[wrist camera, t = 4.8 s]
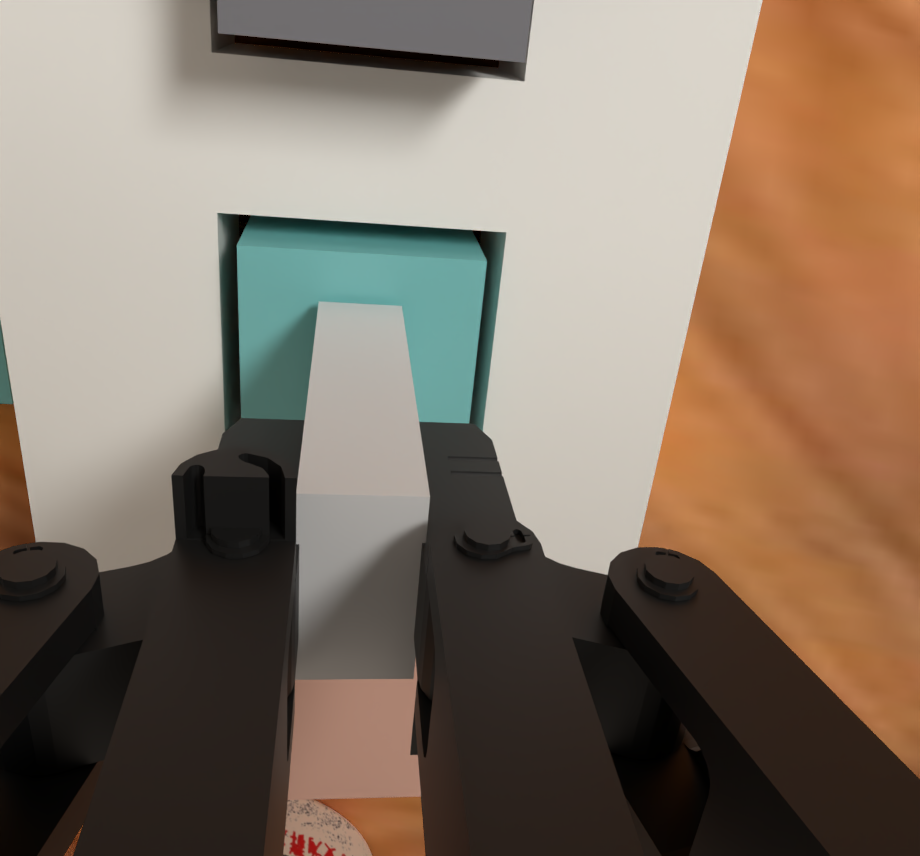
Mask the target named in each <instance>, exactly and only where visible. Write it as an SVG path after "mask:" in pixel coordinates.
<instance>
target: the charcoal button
mask: <svg viewBox="0 0 920 856" xmlns="http://www.w3.org/2000/svg"><path fill="white" fill-rule="evenodd" d="M532 1H533V0H217V15H218V33H221V34H232V35H242V36H252V37H263V38H273V39H283V40H294V41H304V42H315V43H325V44H335V45H346V46H356V47H366V48H377V49H387V50H398V51H408V52H418V53H429V54H439V55H449V56H460V57H470V58H480V59H491V60H501V61H512V62H522V63H525V60H526V52H527V44H528V35H529V27H530V18H531V10H532Z"/></svg>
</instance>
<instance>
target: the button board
mask: <svg viewBox="0 0 920 856" xmlns="http://www.w3.org/2000/svg"><path fill="white" fill-rule="evenodd" d="M761 5H762V0H533V1H532V10H531V18H530V27H529V35H528V44H527V52H526V60H525V63H522V62H512V61H501V60H499V67H498V68H496V67H486V66H475V65H465V64H454V63H444V62H433V61H423V60H412V59H402V58H391V57H381V56H370V55H360V54H349V53H339V52H328V51H318V50H307V49H297V48H286V47H276V46H265V45H255V44H244V43H235V35H232V34H221V33H218V15H217V0H0V320H1V326H2V333H3V339H4V345H5V352H6V358H7V364H8V370H9V377H10V383H11V389H12V396H13V402H14V408H15V414H16V421H17V427H18V433H19V440H20V446H21V452H22V458H23V465H24V471H25V477H26V484H27V490H28V496H29V502H30V509H31V515H32V521H33V528H34V534H35V540H36V542H60V543H67V544H71V545H74V546H77V547H80V548H84V549H85V550H86V551H88V552H89V553H90V554H91V555H92V556H93V557H94V558H96V559H97V564H98V569H99V572H103V571H109V570H114V569H119V568H125V567H130V566H134V565H138V564H142V563H146V562H150V561H152V560H155V559H157V558H160V557H162V556H165V555H167V554H168V553H170V552H172V549H173V546H174V543H175V540H176V536H175V522H174V507H173V493H172V479H171V475H172V474H173V472H174V471H175V470H176V469H177V467H178V466H179V465H180V464H181V463H183V462H185V461H186V460H188V459H190V458H192V457H194V456H196V455H198V454H202V453H205V452H209V451H213V450H217V449H218V447H219V444H220V441H221V437H222V434H223V433H224V432H225V431H226V430H228V429H229V428H230V427H231V426H233V425H234V424H235V423H236V422H237V421H239V420H240V419H241V393H240V353H239V313H238V274H237V244H238V242H239V240H240V237H239V214H242V215H257V216H271V217H286V218H301V219H316V220H330V221H345V222H360V223H375V224H390V225H404V226H419V227H434V228H449V229H463V230H478V231H481V237H480V247H481V249H482V252H483V254H484V256H485V258H486V260H487V267H486V276H485V285H484V294H483V303H482V312H481V321H480V330H479V339H478V348H477V357H476V366H475V375H474V384H473V393H472V402H471V411H470V421H469V423H470V424H475V425H476V426H477V427H478V428H479V429H481V430H482V431H483V432H484V433H485V434H486V435H487V436H488V437H490V438H491V439H492V441H493V445H494V448H495V451H496V455H497V461H499V464H500V468H501V471H502V476H503V477H504V481H505V484H506V487H507V491H508V494H509V497H510V500H511V504H512V507H513V510H514V514H515V517H516V520H517V521H518V522H520V523H521V524H523V525H524V526H525V527H527V528H528V529H530V530H531V531H533V533H534V534H535V536H536V537H537V539H538V540H539V542H540V543H541V546H542V549H543V552H544V555H545V557H547V558H549V559H552V560H554V561H556V562H558V563H561V564H564V565H567V566H571V567H574V568H578V569H583V570H587V571H592V572H597V573H601V574H606V575H608V570H609V565H610V562H611V561H612V560H613V559H614V558H615V557H616V556H617V555H618V554H619V553H621V552H624V551H627V550H630V549H634V548H638V544H639V540H640V535H641V531H642V526H643V522H644V518H645V513H646V509H647V505H648V500H649V496H650V491H651V487H652V483H653V478H654V474H655V469H656V465H657V461H658V456H659V452H660V448H661V443H662V439H663V434H664V430H665V426H666V421H667V417H668V412H669V408H670V404H671V399H672V395H673V391H674V386H675V382H676V377H677V373H678V369H679V364H680V360H681V355H682V351H683V347H684V342H685V338H686V334H687V329H688V325H689V320H690V316H691V312H692V307H693V303H694V298H695V294H696V290H697V285H698V281H699V277H700V272H701V268H702V263H703V259H704V255H705V250H706V246H707V241H708V237H709V233H710V228H711V224H712V220H713V215H714V211H715V206H716V202H717V198H718V193H719V189H720V184H721V180H722V176H723V171H724V167H725V163H726V158H727V154H728V149H729V145H730V141H731V136H732V132H733V127H734V123H735V119H736V114H737V110H738V106H739V101H740V97H741V92H742V88H743V84H744V79H745V75H746V70H747V66H748V62H749V57H750V53H751V48H752V44H753V40H754V35H755V31H756V27H757V22H758V18H759V13H760V9H761Z"/></svg>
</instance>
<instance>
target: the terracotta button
mask: <svg viewBox="0 0 920 856" xmlns="http://www.w3.org/2000/svg"><path fill="white" fill-rule="evenodd" d="M416 686H417V668H416V657H415V668H414V679H333V680H295V714H294V727H293V739H292V751H291V764H290V776H289V789H288V800H310V799H347V798H384V797H421V789H420V777H419V764H418V755H410V750H411V739H412V728H413V718H414V707H415V697H416Z"/></svg>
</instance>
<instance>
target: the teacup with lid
mask: <svg viewBox="0 0 920 856" xmlns="http://www.w3.org/2000/svg"><path fill="white" fill-rule="evenodd" d="M283 856H372V854H371V851H370V849H369V847H368V845H367V843H366V841H365V840H364V838H363V837H362V835H361V834H360V833H359V831H358V830H357V829H356V828H355V827H354V826H353V825H352V824H351V823H350V822H349V821H348V820H347V819H346V818H344V817H343V816H342V815H340V814H339V813H338V812H336V811H335V810H333V809H331V808H330V807H328V806H326V805H324V804H322V803H320V802H318V801H316V800H314V799H310V800H288V801H287V813H286V826H285V838H284V850H283Z"/></svg>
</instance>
